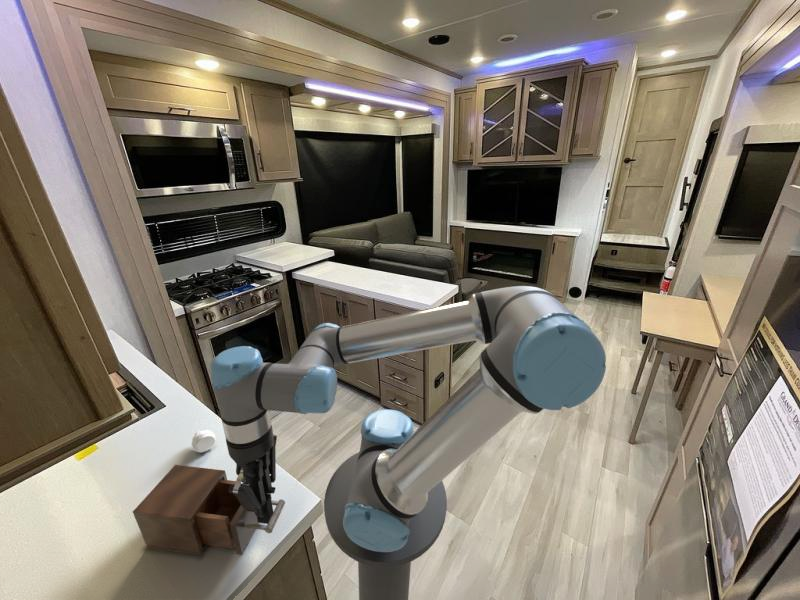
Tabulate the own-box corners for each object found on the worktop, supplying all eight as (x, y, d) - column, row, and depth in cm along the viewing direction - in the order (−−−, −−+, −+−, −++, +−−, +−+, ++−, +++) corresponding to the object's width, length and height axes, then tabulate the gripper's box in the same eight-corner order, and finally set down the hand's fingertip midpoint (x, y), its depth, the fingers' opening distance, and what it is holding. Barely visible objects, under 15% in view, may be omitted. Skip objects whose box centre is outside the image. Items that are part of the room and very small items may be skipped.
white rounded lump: (209, 434, 91) (206, 419, 89) (218, 445, 88) (214, 430, 86) (188, 445, 87) (184, 430, 85) (196, 457, 84) (192, 441, 82)
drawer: (291, 511, 70) (287, 483, 67) (270, 559, 62) (265, 529, 58) (221, 502, 72) (214, 474, 68) (192, 548, 63) (182, 518, 60)
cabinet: (233, 504, 72) (225, 470, 68) (201, 555, 62) (190, 519, 59) (185, 498, 73) (175, 464, 69) (147, 547, 63) (132, 511, 60)
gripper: (248, 403, 63) (264, 488, 71) (204, 457, 50) (229, 552, 59) (285, 407, 62) (296, 492, 70) (249, 462, 50) (268, 557, 58)
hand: (266, 519), depth 65 cm, fingers closed
